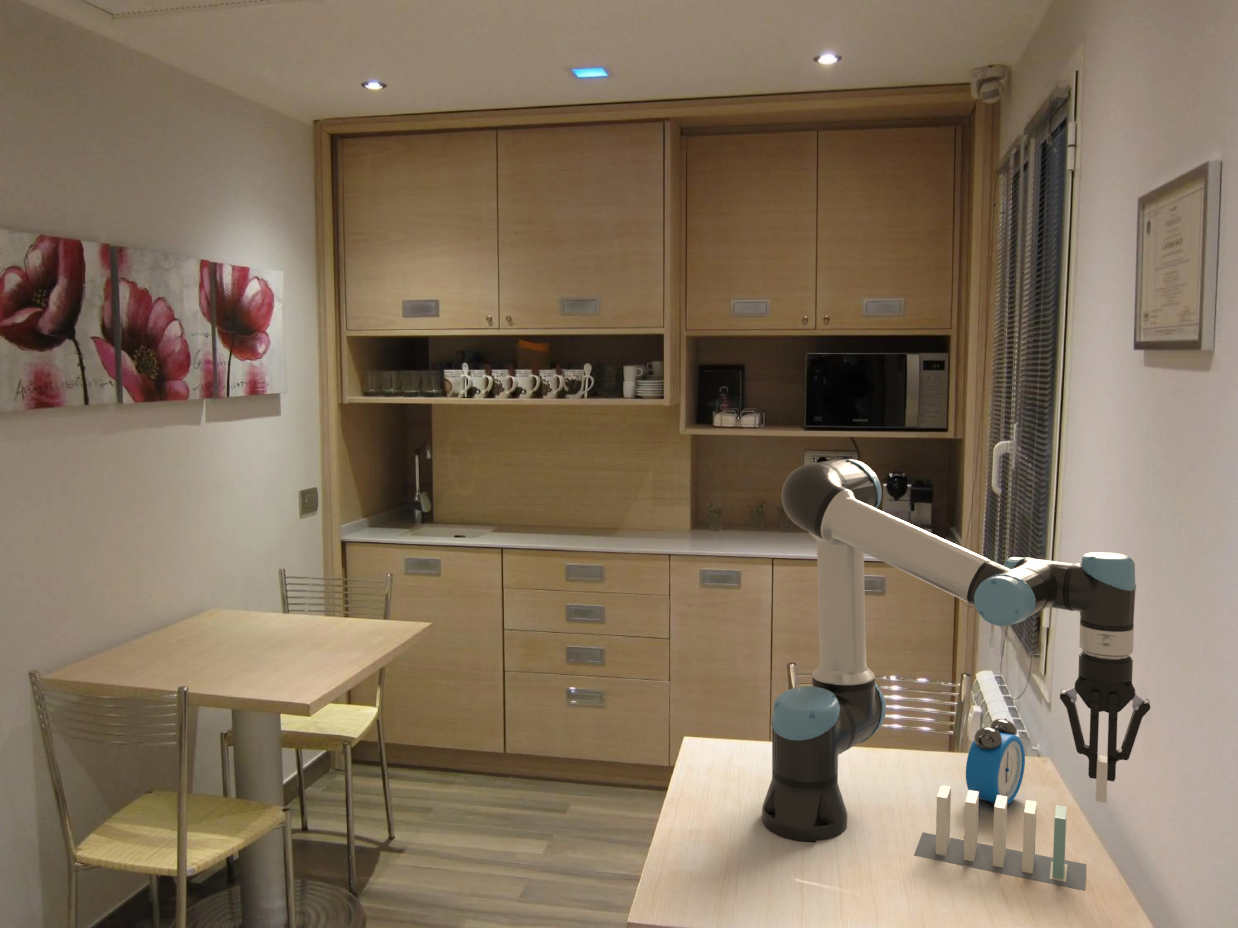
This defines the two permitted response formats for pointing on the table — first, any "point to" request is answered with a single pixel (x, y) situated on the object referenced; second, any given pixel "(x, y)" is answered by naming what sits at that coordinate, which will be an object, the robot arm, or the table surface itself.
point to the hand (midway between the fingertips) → (1101, 798)
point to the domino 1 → (943, 820)
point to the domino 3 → (999, 831)
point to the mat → (1012, 862)
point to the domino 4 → (1029, 836)
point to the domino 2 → (971, 825)
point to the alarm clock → (996, 761)
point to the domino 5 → (1059, 842)
